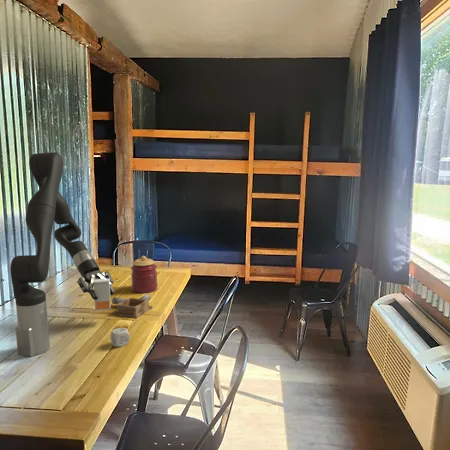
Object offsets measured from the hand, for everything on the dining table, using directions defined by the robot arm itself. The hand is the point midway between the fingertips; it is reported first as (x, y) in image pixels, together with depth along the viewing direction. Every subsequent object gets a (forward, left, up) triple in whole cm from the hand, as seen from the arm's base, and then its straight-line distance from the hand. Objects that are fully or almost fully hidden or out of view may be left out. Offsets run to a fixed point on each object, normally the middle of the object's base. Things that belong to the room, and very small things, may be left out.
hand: (104, 296), depth 156 cm
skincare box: (0, +1, -6) cm, 6 cm away
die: (-13, -17, -12) cm, 24 cm away
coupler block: (+18, 0, -11) cm, 21 cm away
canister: (+43, +9, -11) cm, 45 cm away
